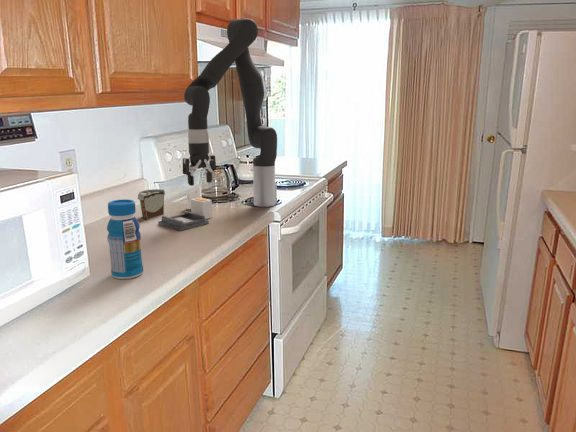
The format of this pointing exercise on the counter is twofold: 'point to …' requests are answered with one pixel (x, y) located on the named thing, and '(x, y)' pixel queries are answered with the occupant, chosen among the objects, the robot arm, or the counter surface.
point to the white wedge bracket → (193, 196)
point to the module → (202, 207)
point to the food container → (152, 203)
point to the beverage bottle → (124, 240)
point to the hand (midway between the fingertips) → (200, 183)
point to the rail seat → (183, 221)
